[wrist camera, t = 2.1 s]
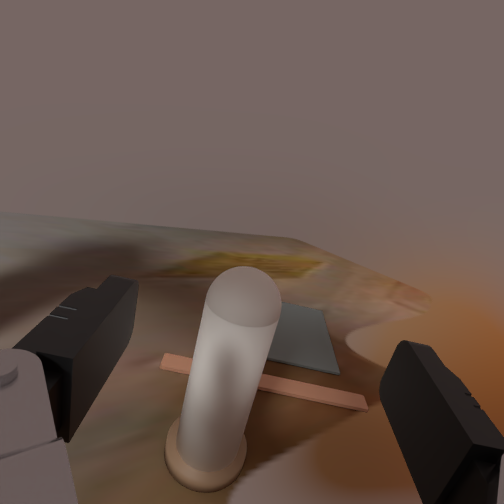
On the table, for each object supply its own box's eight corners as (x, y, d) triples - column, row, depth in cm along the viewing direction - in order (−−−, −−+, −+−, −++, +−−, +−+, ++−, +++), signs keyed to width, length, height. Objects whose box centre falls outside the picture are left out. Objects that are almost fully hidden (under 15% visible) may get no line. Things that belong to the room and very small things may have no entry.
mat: (206, 346, 40) (206, 344, 40) (220, 289, 53) (220, 287, 53) (339, 375, 41) (340, 373, 41) (321, 312, 54) (321, 310, 54)
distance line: (159, 368, 35) (160, 365, 35) (164, 355, 37) (165, 352, 37) (367, 412, 36) (368, 409, 36) (362, 398, 38) (363, 395, 38)
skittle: (153, 483, 25) (192, 282, 19) (175, 412, 31) (210, 242, 25) (241, 500, 25) (306, 308, 19) (245, 426, 31) (296, 262, 25)
